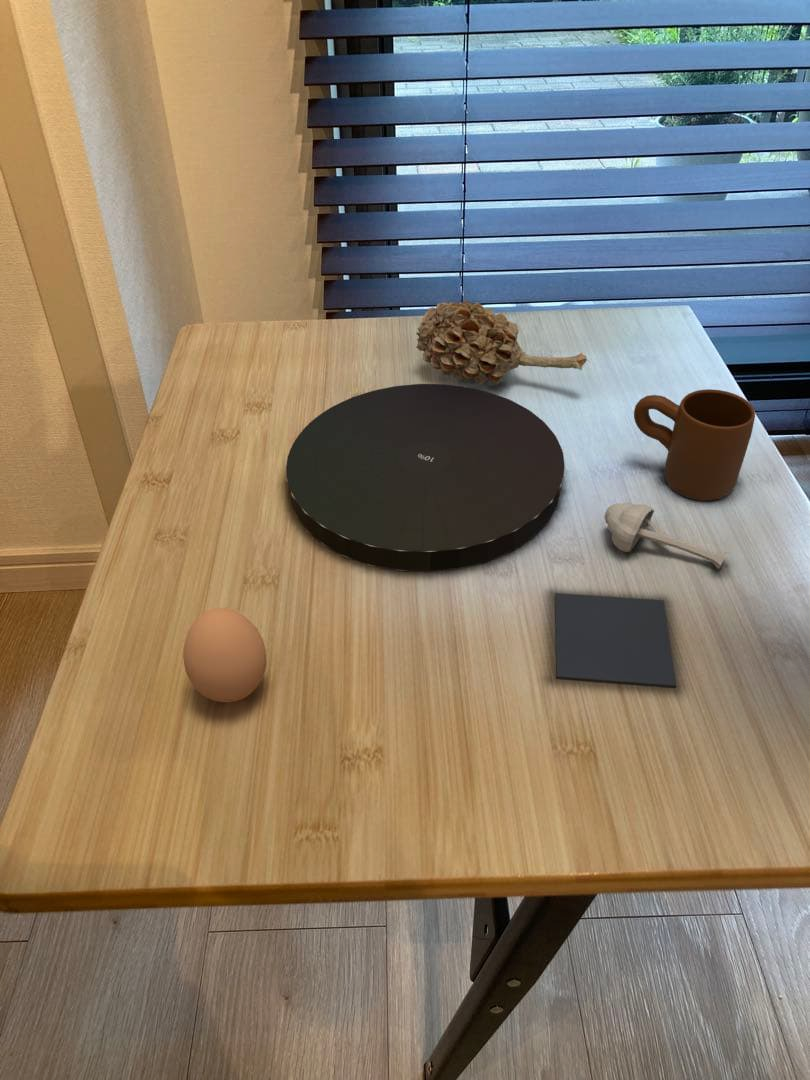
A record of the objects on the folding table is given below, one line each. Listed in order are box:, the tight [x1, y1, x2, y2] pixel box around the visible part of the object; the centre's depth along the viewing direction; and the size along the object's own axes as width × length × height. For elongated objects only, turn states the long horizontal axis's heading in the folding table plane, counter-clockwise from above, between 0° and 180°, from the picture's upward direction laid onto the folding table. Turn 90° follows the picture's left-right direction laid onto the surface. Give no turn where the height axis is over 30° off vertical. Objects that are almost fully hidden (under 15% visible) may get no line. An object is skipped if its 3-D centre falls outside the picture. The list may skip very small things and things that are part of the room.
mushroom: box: [604, 502, 727, 570], centre depth 83 cm, size 7×5×12 cm
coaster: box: [554, 592, 677, 688], centre depth 75 cm, size 10×10×1 cm
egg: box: [182, 607, 267, 703], centre depth 69 cm, size 7×7×9 cm
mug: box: [633, 388, 756, 501], centre depth 90 cm, size 12×8×9 cm, turn 63°
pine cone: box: [415, 300, 591, 386], centre depth 104 cm, size 22×10×10 cm, turn 74°
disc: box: [285, 383, 566, 572], centre depth 92 cm, size 30×30×3 cm
